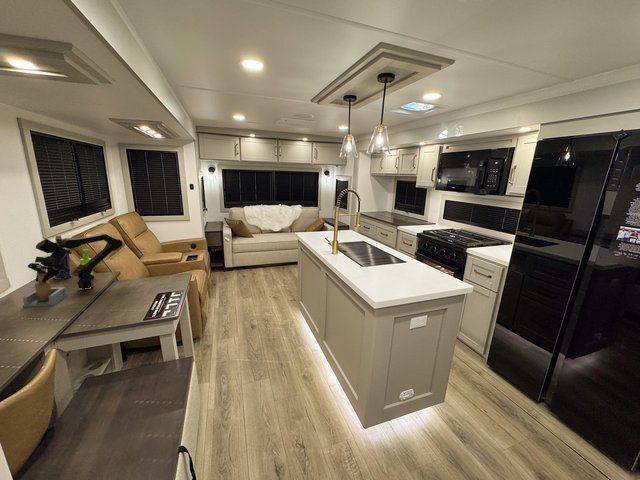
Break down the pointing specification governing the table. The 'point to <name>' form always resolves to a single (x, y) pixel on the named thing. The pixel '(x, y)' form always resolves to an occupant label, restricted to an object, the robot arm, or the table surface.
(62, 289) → the u rest
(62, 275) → the bottle
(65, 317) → the table surface
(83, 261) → the soap dispenser
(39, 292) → the amber bottle
